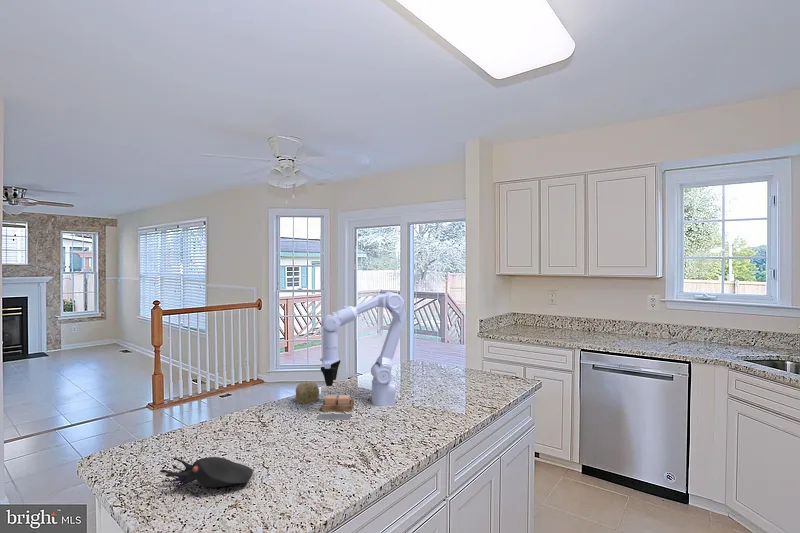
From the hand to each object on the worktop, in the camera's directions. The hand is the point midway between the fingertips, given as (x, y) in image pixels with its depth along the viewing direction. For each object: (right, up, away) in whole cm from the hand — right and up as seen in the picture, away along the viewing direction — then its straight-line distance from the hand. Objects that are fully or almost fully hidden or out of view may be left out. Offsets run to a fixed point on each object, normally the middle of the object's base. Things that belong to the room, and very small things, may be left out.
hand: (331, 382), depth 160 cm
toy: (-23, -12, -52) cm, 58 cm away
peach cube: (+5, -10, 0) cm, 11 cm away
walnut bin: (+3, -10, 0) cm, 11 cm away
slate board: (+2, -11, -9) cm, 14 cm away
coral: (-11, -11, +10) cm, 18 cm away
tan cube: (0, -10, 0) cm, 10 cm away
